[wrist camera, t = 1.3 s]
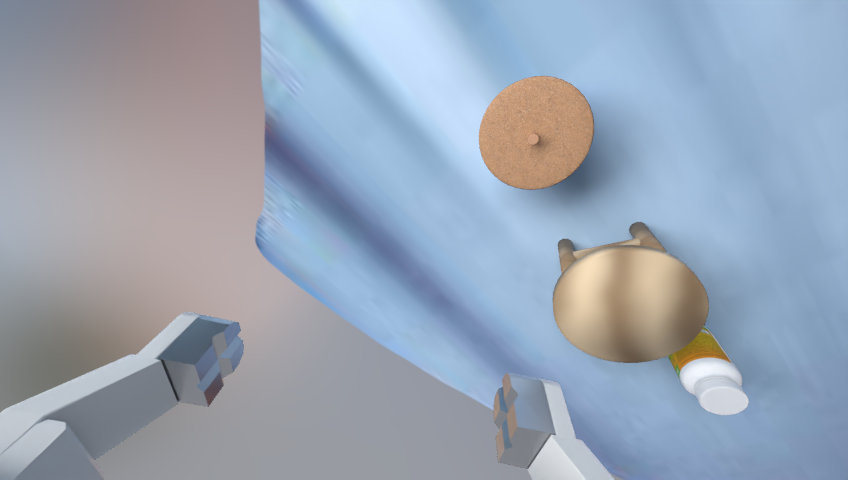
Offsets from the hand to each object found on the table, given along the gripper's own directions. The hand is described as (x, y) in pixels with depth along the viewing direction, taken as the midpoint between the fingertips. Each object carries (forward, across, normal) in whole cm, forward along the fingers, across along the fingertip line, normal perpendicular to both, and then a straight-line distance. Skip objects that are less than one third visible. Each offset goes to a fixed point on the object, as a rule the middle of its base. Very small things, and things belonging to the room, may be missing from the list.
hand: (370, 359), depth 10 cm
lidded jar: (+35, -11, -2) cm, 36 cm away
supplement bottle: (+28, -38, +20) cm, 51 cm away
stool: (+31, -25, +12) cm, 41 cm away
